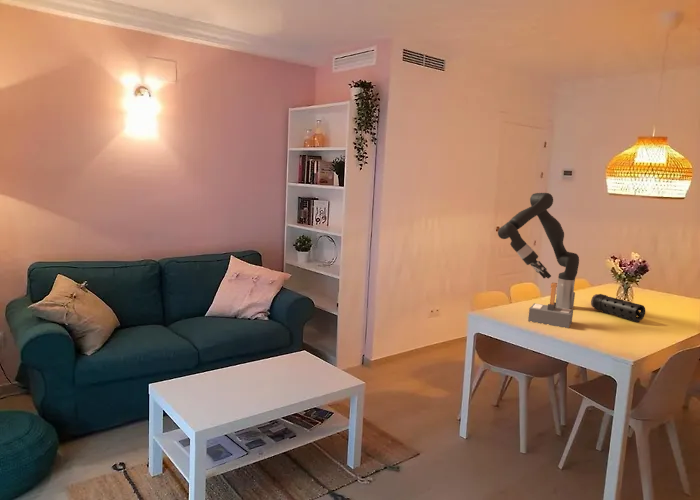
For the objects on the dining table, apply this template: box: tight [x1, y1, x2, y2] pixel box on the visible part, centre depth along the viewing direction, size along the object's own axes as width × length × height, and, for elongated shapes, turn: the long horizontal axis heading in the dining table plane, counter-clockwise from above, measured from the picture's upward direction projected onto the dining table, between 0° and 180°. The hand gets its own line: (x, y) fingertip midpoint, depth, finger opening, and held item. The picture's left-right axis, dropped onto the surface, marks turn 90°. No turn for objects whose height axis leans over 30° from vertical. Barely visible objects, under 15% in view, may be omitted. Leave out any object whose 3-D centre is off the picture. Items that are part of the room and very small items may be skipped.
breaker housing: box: [527, 301, 574, 329], centre depth 275 cm, size 20×14×10 cm
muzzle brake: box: [590, 293, 646, 323], centre depth 295 cm, size 10×28×10 cm, turn 27°
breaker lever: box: [549, 282, 558, 305], centre depth 274 cm, size 2×5×13 cm, turn 150°
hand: (547, 277), depth 277 cm, fingers open, 8 cm apart
